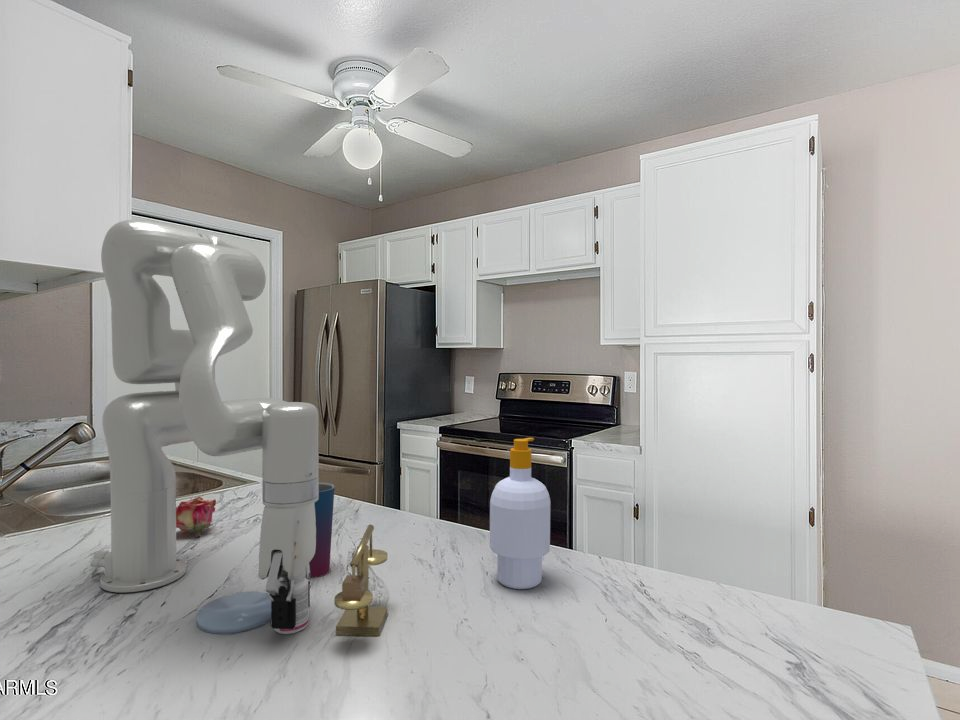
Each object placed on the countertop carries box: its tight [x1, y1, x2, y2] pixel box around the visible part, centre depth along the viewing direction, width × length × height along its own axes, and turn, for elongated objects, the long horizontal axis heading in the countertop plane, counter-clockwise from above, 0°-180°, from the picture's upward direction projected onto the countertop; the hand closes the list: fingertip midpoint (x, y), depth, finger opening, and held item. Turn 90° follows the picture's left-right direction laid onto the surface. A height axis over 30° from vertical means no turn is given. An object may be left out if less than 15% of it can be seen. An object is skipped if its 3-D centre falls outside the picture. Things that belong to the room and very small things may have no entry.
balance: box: [333, 524, 389, 637], centre depth 80 cm, size 6×15×13 cm, turn 178°
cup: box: [309, 482, 336, 579], centre depth 98 cm, size 7×7×15 cm
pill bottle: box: [273, 567, 310, 635], centre depth 79 cm, size 5×5×8 cm
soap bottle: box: [489, 437, 551, 590], centre depth 95 cm, size 10×10×24 cm
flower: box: [176, 496, 221, 539], centre depth 117 cm, size 10×9×8 cm
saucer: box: [196, 591, 271, 635], centre depth 82 cm, size 11×11×1 cm
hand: (291, 616), depth 79 cm, fingers closed on pill bottle, 4 cm apart
